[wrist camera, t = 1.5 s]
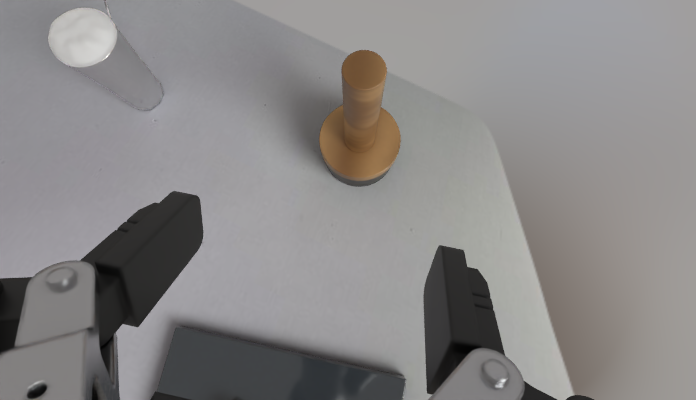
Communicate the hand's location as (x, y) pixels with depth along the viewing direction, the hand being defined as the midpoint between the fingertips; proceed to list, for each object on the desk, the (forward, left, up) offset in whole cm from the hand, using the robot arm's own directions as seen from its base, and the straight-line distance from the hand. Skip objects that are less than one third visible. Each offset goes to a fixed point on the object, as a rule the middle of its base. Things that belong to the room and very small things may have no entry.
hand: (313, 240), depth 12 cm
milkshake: (+20, -12, -18) cm, 30 cm away
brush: (0, -10, -18) cm, 21 cm away
